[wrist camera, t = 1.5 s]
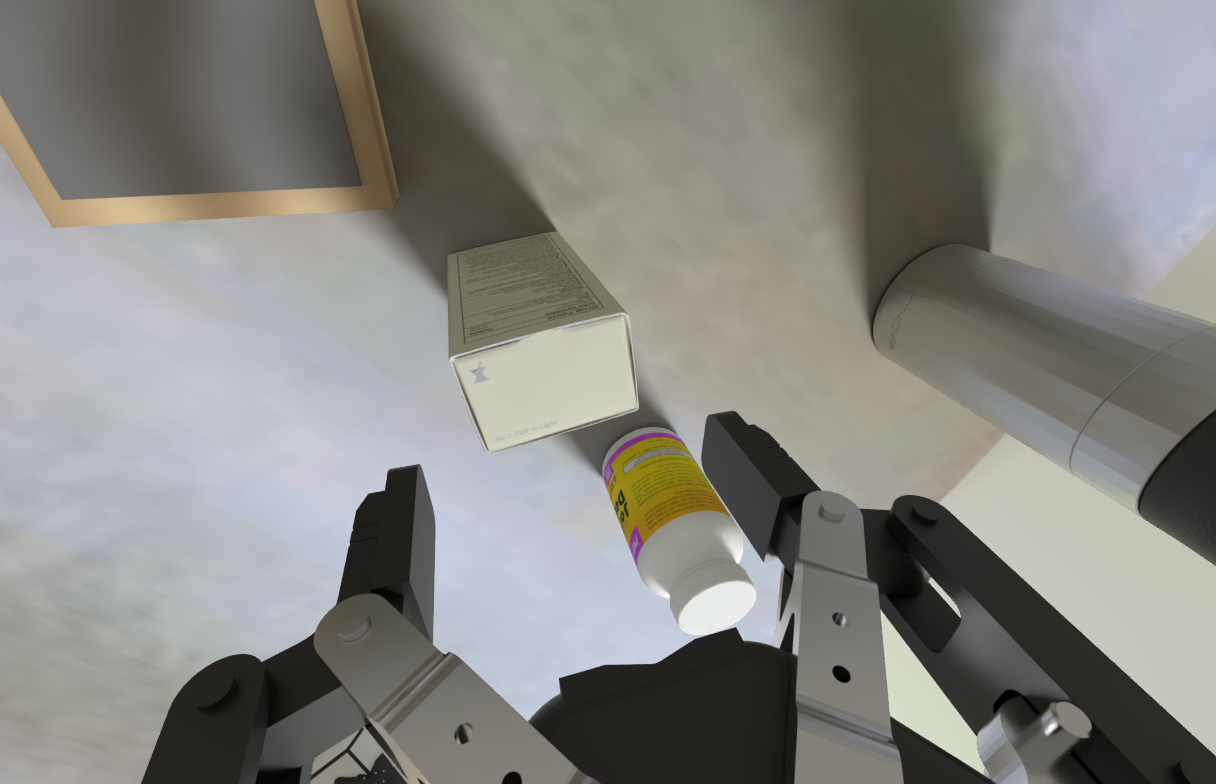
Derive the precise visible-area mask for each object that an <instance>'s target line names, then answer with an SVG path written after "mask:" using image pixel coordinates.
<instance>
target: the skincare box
mask: <svg viewBox="0 0 1216 784" xmlns="http://www.w3.org/2000/svg"><path fill="white" fill-rule="evenodd" d="M447 272H448V330H449V331H448V334H449V361H450V364H451V366H452V369H453V372H454V375H455V378H456V381H457V383H458V386H459V389H460V391H461V394H462V397H463V400H464V402H465V405H466V407H467V410H468V413H469V415H470V417H471V420H472V423H473V425H474V428H475V430H476V432H477V435H478V437H479V439H480V441H481V444H482V446H483V448H484V450H485V452H486V453H488V454H492V453H496V452H500V451H504V450H508V449H511V448H515V447H519V446H523V445H526V444H529V443H533V442H537V441H539V440H543V439H547V438H550V437H553V436H557V435H561V434H563V433H566V432H570V431H574V430H577V429H579V428H583V427H586V426H590V425H593V424H597V423H600V422H602V421H606V420H609V419H612V418H615V417H619V416H622V415H625V414H628V413H631V412H634V411H637V410H638V408H639V402H638V393H637V381H636V371H635V362H634V352H633V343H632V336H631V328H630V320H629V315H628V314H627V313H626V311H625V310H624V309H623V308H622V307H621V306H620V305H619V303H618V302H617V301H616V300H615V299H614V297H613V296H612V295H611V294H610V293H609V292H608V291H607V290H606V288H605V287H604V286H603V285H602V284H601V282H600V281H599V280H598V279H597V278H596V276H595V275H594V274H593V273H592V272H591V270H590V269H589V268H588V267H587V266H586V265H585V263H584V262H583V261H582V260H581V259H580V258H579V256H578V255H577V254H576V253H575V252H574V250H573V249H572V248H571V247H570V246H569V245H568V243H567V242H566V241H565V240H564V239H563V237H562V236H561V235H560V234H559V233H558V232H549V233H543V234H539V235H533V236H528V237H523V238H518V239H514V240H509V241H504V242H500V243H495V244H491V245H486V246H482V247H477V248H473V249H469V250H465V251H461V252H457V253H453V254H450V255H448V256H447Z"/></svg>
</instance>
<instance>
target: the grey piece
mask: <svg viewBox="0 0 1216 784" xmlns="http://www.w3.org/2000/svg"><path fill="white" fill-rule="evenodd" d="M310 784H408V783H407V782H406V781H405V780H404V778H403V777H402V776H401V775H400V773H399V772H398V771H397V770H396V768H395V767H394V766H393V765H392V763H391V762H390V761H389V760H388V758H387V757H386V756H385V755H384V753H383V752H382V751H381V750H380V748H379V747H378V746H377V745H376V743H375V742H374V741H373V740H372V738H371V737H370V736H369V735H368V733H367V732H366V731H365V730H364V728H362V729H360V730H358V731H357V732H355V733H354V734H352V735H350V736H349V737H347V738H345V739H344V740H342V741H341V742H339V743H337V744H336V745H334V746H333V747H331V748H329V749H328V750H326V751H325V752H323V753H321V754H320V755H318V756H317V757H316V759H315V760H314V761H313V767H312V774H311V782H310Z"/></svg>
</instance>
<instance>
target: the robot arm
mask: <svg viewBox="0 0 1216 784" xmlns="http://www.w3.org/2000/svg"><path fill="white" fill-rule="evenodd" d="M873 337H874V342H875V345H876V347H877V349H878V350H879V352H880V353H881V354H882V355H884V356H885V357H886V358H888V359H889V360H891V361H893V362H894V363H896V364H897V365H899V366H901V367H902V368H904V369H905V370H907V371H908V372H910V373H912V374H913V375H915V376H916V377H918V378H920V379H921V380H923V381H924V382H926V383H927V384H929V385H930V386H932V387H934V388H935V389H937V390H938V391H940V392H942V393H943V394H945V395H946V396H948V397H950V398H951V399H953V400H954V401H956V402H958V403H959V404H961V405H962V406H964V407H966V408H967V409H969V410H970V411H972V412H974V413H975V414H977V415H978V416H980V417H982V418H983V419H985V420H986V421H988V422H990V423H991V424H993V425H994V426H996V427H998V428H999V429H1001V430H1002V431H1004V432H1006V433H1007V434H1009V435H1010V436H1012V437H1014V438H1015V439H1017V440H1018V441H1020V442H1022V443H1023V444H1025V445H1026V446H1028V447H1030V448H1031V449H1033V450H1034V451H1036V452H1038V453H1039V454H1041V455H1042V456H1044V457H1046V458H1047V459H1049V460H1050V461H1052V462H1053V463H1055V464H1057V465H1058V466H1060V467H1062V468H1063V469H1065V470H1066V471H1068V472H1069V473H1071V474H1073V475H1074V476H1076V477H1078V478H1080V479H1081V480H1083V481H1084V482H1086V483H1088V484H1089V485H1091V486H1092V487H1094V488H1096V489H1097V490H1099V491H1100V492H1102V493H1104V494H1105V495H1107V496H1108V497H1110V498H1112V499H1113V500H1115V501H1116V502H1118V503H1119V504H1121V505H1123V506H1124V507H1126V508H1127V509H1129V510H1131V511H1132V512H1134V513H1135V514H1137V515H1139V516H1141V517H1142V518H1143V519H1145V520H1146V521H1148V522H1150V523H1151V524H1153V525H1154V526H1156V527H1157V528H1159V529H1161V530H1162V531H1164V532H1166V533H1167V534H1169V535H1171V536H1172V537H1174V538H1175V539H1177V540H1178V541H1180V542H1181V543H1183V544H1184V545H1186V546H1187V547H1189V548H1190V549H1192V550H1193V551H1195V552H1196V553H1198V554H1199V555H1200V556H1202V557H1204V558H1205V559H1206V560H1208V561H1209V562H1211V563H1212V564H1214V565H1215V566H1216V323H1212V322H1209V321H1206V320H1203V319H1199V318H1196V317H1193V316H1190V315H1187V314H1184V313H1180V312H1177V311H1174V310H1171V309H1168V308H1164V307H1161V306H1158V305H1155V304H1152V303H1148V302H1145V301H1142V300H1139V299H1136V298H1132V297H1129V296H1126V295H1123V294H1120V293H1116V292H1113V291H1110V290H1107V289H1104V288H1100V287H1097V286H1094V285H1091V284H1088V283H1084V282H1081V281H1078V280H1075V279H1072V278H1068V277H1065V276H1062V275H1059V274H1056V273H1052V272H1049V271H1046V270H1043V269H1040V268H1037V267H1033V266H1030V265H1027V264H1024V263H1021V262H1018V261H1015V260H1012V259H1009V258H1005V257H1002V256H999V255H996V254H992V253H989V252H986V251H983V250H980V249H976V248H973V247H970V246H966V245H962V244H947V245H944V246H940V247H937V248H934V249H932V250H930V251H928V252H927V253H925V254H923V255H921V256H920V257H918V258H917V259H916V260H914V261H913V262H912V263H910V264H909V265H908V266H907V267H906V268H905V269H904V270H903V271H902V272H901V273H900V274H899V275H898V276H897V278H896V279H895V280H894V281H893V283H892V284H891V285H890V286H889V288H888V290H887V291H886V293H885V295H884V296H883V298H882V300H881V302H880V304H879V307H878V309H877V312H876V315H875V320H874V324H873ZM701 460H702V466H703V469H704V472H705V474H706V476H707V478H708V479H709V481H710V482H711V484H712V485H713V487H714V488H715V490H716V491H717V493H718V494H719V496H720V497H721V499H722V500H723V502H724V503H725V505H726V506H727V508H728V509H729V511H730V512H731V514H732V515H733V517H734V518H735V520H736V521H737V523H738V524H739V526H740V527H741V529H742V530H743V532H744V533H745V535H746V536H747V538H748V539H749V541H750V542H751V544H752V545H753V547H754V548H755V550H756V552H757V553H758V555H759V556H760V558H761V559H762V561H763V562H767V561H771V560H775V559H780V561H781V562H782V563H783V568H782V572H781V581H780V591H779V601H778V610H777V620H776V629H775V636H774V641H773V646H771V645H767V644H763V643H759V642H752V641H743V639H742V638H741V636H740V634H739V632H738V630H737V628H736V627H735V628H731V629H728V630H724V631H721V632H718V633H714V634H711V635H707V636H704V637H700V638H697V639H694V640H693V641H691V642H690V643H688V644H687V645H685V646H683V647H682V648H680V649H679V650H677V651H676V652H674V653H673V654H671V655H669V656H668V657H666V658H665V659H663V660H662V661H660V662H658V663H655V664H631V665H603V666H600V667H596V668H593V669H590V670H586V671H583V672H579V673H576V674H572V675H569V676H565V677H562V678H559V684H560V694H559V695H557V696H555V697H554V698H552V699H551V700H550V701H548V702H547V703H546V704H545V705H543V706H542V707H541V708H540V709H539V710H538V711H537V712H536V713H535V714H534V715H533V716H532V717H531V719H530V720H529V721H528V722H527V721H526V720H525V719H524V718H523V717H522V716H521V715H520V714H519V713H518V712H517V711H516V710H515V709H514V708H512V707H511V706H510V705H509V704H508V703H507V702H506V701H505V700H504V699H503V698H502V697H501V696H500V695H499V694H498V693H496V692H495V691H494V690H493V689H492V688H491V687H490V686H489V685H488V684H487V683H486V682H485V681H484V680H483V679H482V678H481V677H479V676H478V675H477V674H476V673H475V672H474V671H473V670H472V669H471V668H470V667H469V666H468V665H467V664H466V663H465V662H463V661H462V660H461V659H460V658H459V657H458V656H456V655H455V654H453V653H451V652H448V653H447V654H446V655H445V654H443V653H442V652H440V651H439V650H438V649H437V648H436V647H435V646H434V645H433V614H434V570H435V518H434V511H433V506H432V503H431V499H430V495H429V492H428V488H427V485H426V481H425V477H424V474H423V470H422V467H421V465H420V464H417V465H411V466H406V467H400V468H394V469H389V470H388V474H387V480H386V487H385V491H381V492H375V493H370V494H368V495H367V497H366V498H365V499H364V501H363V502H362V503H361V505H360V506H359V508H358V509H357V510H356V515H355V519H354V524H353V531H352V534H351V539H350V546H349V548H348V553H347V558H346V563H345V567H344V572H343V577H342V582H341V586H340V591H339V596H338V600H337V604H336V606H334V607H333V608H332V609H331V610H330V611H329V612H328V613H327V614H326V615H325V616H324V617H323V619H322V620H321V621H320V623H319V625H318V627H317V629H316V631H315V633H313V634H312V635H311V636H309V637H308V638H306V639H305V640H303V641H302V642H300V643H298V644H296V645H294V646H292V647H290V648H288V649H286V650H284V651H283V652H281V653H279V654H277V655H275V656H273V657H271V658H269V659H267V660H265V661H263V662H261V661H260V660H259V659H258V658H256V657H255V656H252V655H248V654H237V655H232V656H228V657H225V658H223V659H220V660H218V661H216V662H214V663H212V664H210V665H209V666H207V667H205V668H204V669H203V670H201V671H200V672H198V673H197V674H196V675H195V676H194V677H193V678H191V679H190V680H189V681H188V682H187V683H186V684H185V685H184V686H183V688H182V689H181V690H180V692H179V693H178V694H177V696H176V697H175V699H174V700H173V702H172V705H171V707H170V709H169V711H168V714H167V717H166V719H165V722H164V725H163V727H162V730H161V733H160V735H159V738H158V740H157V743H156V746H155V748H154V751H153V754H152V756H151V759H150V761H149V764H148V767H147V769H146V772H145V775H144V777H143V780H142V783H141V784H310V782H311V774H312V767H313V760H314V758H315V757H317V756H318V755H320V754H321V753H323V752H325V751H326V750H328V749H329V748H331V747H333V746H334V745H336V744H337V743H339V742H341V741H342V740H344V739H345V738H347V737H349V736H350V735H352V734H354V733H355V732H357V731H358V730H360V729H362V728H364V730H365V731H366V732H367V733H368V735H369V736H370V737H371V738H372V740H373V741H374V742H375V743H376V745H377V746H378V747H379V748H380V750H381V751H382V752H383V753H384V755H385V756H386V757H387V758H388V760H389V761H390V762H391V763H392V765H393V766H394V767H395V768H396V770H397V771H398V772H399V773H400V775H401V776H402V777H403V778H404V780H405V781H406V782H407V783H408V784H1216V756H1215V755H1214V754H1213V753H1212V752H1211V751H1209V750H1208V749H1207V748H1206V747H1205V746H1204V745H1203V744H1202V743H1201V742H1200V741H1199V740H1197V739H1196V738H1195V737H1194V736H1193V735H1192V734H1191V733H1190V732H1189V731H1188V730H1187V729H1185V728H1184V727H1183V726H1182V725H1181V724H1180V723H1179V722H1178V721H1177V720H1176V719H1175V718H1173V717H1172V716H1171V715H1170V714H1169V713H1168V712H1167V711H1166V710H1165V709H1164V708H1163V707H1162V706H1160V705H1159V704H1158V703H1157V702H1156V701H1155V700H1154V699H1153V698H1152V697H1151V696H1150V695H1148V694H1147V693H1146V692H1145V691H1144V690H1143V689H1142V688H1141V687H1140V686H1139V685H1138V684H1137V683H1135V682H1134V681H1133V680H1132V679H1131V678H1130V677H1129V676H1128V675H1127V674H1126V673H1124V672H1123V671H1122V670H1121V669H1120V668H1119V667H1118V666H1117V665H1116V664H1115V663H1114V662H1113V661H1111V660H1110V659H1109V658H1108V657H1107V656H1106V655H1105V654H1104V653H1102V651H1101V650H1100V649H1098V648H1097V647H1096V646H1095V645H1094V644H1093V643H1092V642H1091V641H1090V640H1089V639H1088V638H1086V637H1085V636H1084V635H1083V634H1082V633H1081V632H1080V631H1079V630H1078V629H1077V628H1076V627H1075V626H1073V625H1072V624H1071V623H1070V622H1069V621H1068V620H1067V619H1066V618H1065V617H1064V616H1063V615H1061V614H1060V613H1059V612H1058V611H1057V610H1056V609H1055V608H1054V607H1053V606H1052V605H1051V604H1049V603H1048V602H1047V601H1046V600H1045V599H1044V598H1043V597H1042V596H1041V595H1040V594H1039V593H1038V592H1036V591H1035V590H1034V589H1033V588H1032V587H1031V586H1030V585H1029V584H1028V583H1027V582H1025V581H1024V580H1023V579H1022V578H1021V577H1020V576H1019V575H1018V574H1017V573H1016V572H1015V571H1014V570H1012V569H1011V568H1010V567H1009V566H1008V565H1007V564H1006V563H1005V562H1004V561H1003V560H1002V559H1000V558H999V557H998V556H997V555H996V554H995V553H994V552H993V551H992V550H991V549H990V548H989V547H987V546H986V545H985V544H984V543H983V542H982V541H981V540H980V539H978V537H977V536H975V535H974V534H973V533H972V532H971V531H970V530H969V529H968V528H967V527H966V526H965V525H963V524H962V523H961V522H960V521H959V520H958V519H957V518H956V517H955V516H954V515H953V514H952V513H950V512H949V511H948V510H947V509H946V508H945V507H943V506H941V505H940V504H938V503H936V502H935V501H932V500H930V499H927V498H924V497H921V496H915V495H905V496H901V497H899V498H897V499H896V500H895V501H894V503H893V505H892V508H891V510H875V509H859V508H858V507H857V506H856V505H855V504H854V503H853V502H852V501H851V500H849V499H848V498H846V497H844V496H842V495H840V494H837V493H834V492H830V491H822V490H821V489H820V488H819V487H818V486H817V485H816V484H815V483H814V482H813V481H812V480H811V478H810V477H809V476H808V475H807V474H806V473H805V472H804V471H803V470H802V469H801V468H800V467H799V465H798V464H797V463H796V462H795V461H794V460H793V459H792V458H791V457H789V456H788V454H787V452H786V451H785V450H784V449H783V448H780V445H779V444H778V443H777V442H776V441H775V439H774V438H773V437H772V436H771V435H770V434H769V433H767V432H766V431H764V430H762V429H760V428H759V427H757V426H755V425H754V424H752V425H747V423H746V422H745V421H744V420H743V419H742V418H741V417H740V416H739V414H738V413H737V412H735V411H728V412H722V413H716V414H710V415H709V416H708V417H707V419H706V425H705V432H704V439H703V447H702V454H701ZM930 577H932V578H933V579H934V580H935V581H936V582H937V584H938V585H939V586H940V587H941V588H942V589H943V590H944V591H945V592H946V593H947V595H948V596H949V597H950V598H951V599H952V600H953V601H954V602H955V604H956V605H957V607H958V609H959V611H960V615H961V618H960V617H959V616H958V615H957V614H956V613H955V611H954V610H953V609H952V608H951V607H950V606H949V605H948V604H947V603H946V601H945V600H944V599H943V598H942V597H941V596H940V595H939V593H938V592H937V591H936V590H935V589H934V588H933V587H932V586H931V585H930V583H929V582H928V581H929V579H930ZM880 609H881V610H882V612H883V613H884V614H885V616H886V617H887V618H888V620H889V621H890V622H891V624H892V625H893V626H894V628H895V629H896V630H897V632H898V633H899V634H900V636H901V637H902V638H903V640H904V641H905V642H906V644H907V645H908V646H909V647H910V649H911V650H912V651H913V653H914V654H915V655H916V656H917V658H918V659H919V661H920V662H921V663H922V665H923V666H924V667H925V669H926V670H927V671H928V673H929V674H930V675H931V677H932V678H933V679H934V680H935V682H936V683H937V685H938V686H939V687H940V688H941V690H942V691H943V692H944V694H945V695H946V696H947V698H948V699H949V700H950V702H951V703H952V704H953V706H954V707H955V708H956V710H957V711H958V712H959V714H960V715H961V716H962V718H963V719H964V720H965V722H966V723H967V724H968V726H969V727H970V728H971V730H972V731H973V732H974V734H975V735H976V736H977V749H978V753H979V756H980V758H981V760H982V762H983V764H984V766H985V769H984V775H983V774H981V773H979V772H978V771H976V770H975V769H973V768H972V767H970V766H968V765H967V764H965V763H964V762H962V761H961V760H959V759H957V758H956V757H954V756H953V755H951V754H949V753H948V752H946V751H945V750H943V749H941V748H940V747H938V746H937V745H935V744H934V743H932V742H930V741H929V740H927V739H926V738H924V737H922V736H920V735H919V734H918V733H916V732H914V731H913V730H911V729H910V728H908V727H906V726H905V725H903V724H902V723H900V722H898V721H897V720H895V719H894V718H892V717H891V716H890V714H889V713H890V712H889V702H888V691H887V680H886V669H885V658H884V647H883V636H882V626H881V614H880Z"/></svg>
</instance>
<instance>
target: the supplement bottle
mask: <svg viewBox="0 0 1216 784" xmlns="http://www.w3.org/2000/svg"><path fill="white" fill-rule="evenodd" d="M602 475H603V479H604V483H605V485H606V488H607V491H608V494H609V496H610V499H611V501H612V504H613V507H614V509H615V512H616V514H617V517H618V520H619V522H620V525H621V527H622V530H623V533H624V535H625V538H626V540H627V543H628V545H629V548H630V550H631V553H632V556H633V558H634V561H635V563H636V566H637V569H638V571H639V574H640V576H641V578H642V580H643V582H644V584H645V585H646V586H647V587H648V588H649V589H650V590H651V591H652V592H654V593H655V594H657V595H659V596H662V597H665V598H669V599H670V608H671V610H672V612H673V615H674V617H675V619H676V622H677V624H678V626H679V627H680V628H681V630H683V631H684V632H686V633H689V634H692V635H704V634H710V633H714V632H717V631H720V630H722V629H725V628H727V627H729V626H731V625H732V624H734V623H735V622H737V621H738V620H740V619H741V618H742V617H743V616H744V615H745V614H746V613H747V612H748V611H749V610H750V609H751V607H752V606H753V604H754V602H755V599H756V590H755V587H754V585H753V583H752V582H751V580H750V578H749V576H748V574H747V572H746V571H745V570H744V569H743V568H742V567H741V566H740V565H739V562H740V559H741V557H742V553H743V539H742V535H741V532H740V530H739V528H738V526H737V525H736V523H735V522H734V520H733V519H732V517H731V516H730V514H729V513H728V511H727V510H726V508H725V507H724V505H723V504H722V502H721V500H720V499H719V497H718V496H717V494H716V493H715V491H714V490H713V488H712V486H711V485H710V483H709V482H708V480H707V479H706V477H705V475H704V474H703V472H702V471H701V469H700V468H699V466H698V464H697V463H696V461H695V460H694V458H693V456H692V455H691V453H690V452H689V450H688V449H687V447H686V446H685V444H684V443H683V441H682V440H681V438H680V437H679V436H678V435H676V434H675V433H674V432H672V431H670V430H668V429H665V428H660V427H646V428H641V429H637V430H635V431H632V432H630V433H628V434H626V435H625V436H623V437H622V438H620V439H619V440H618V441H617V442H616V443H614V444H613V446H612V447H611V448H610V449H609V451H608V452H607V454H606V456H605V459H604V461H603V466H602Z"/></svg>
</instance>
